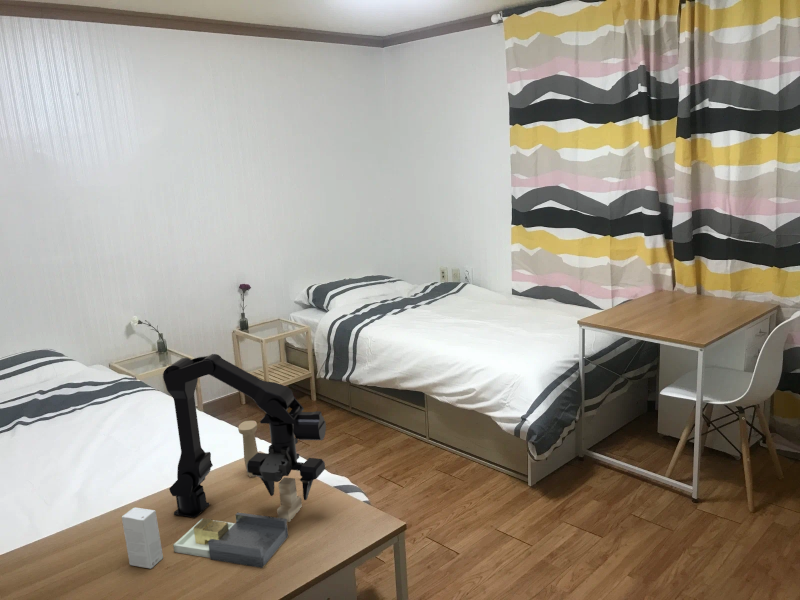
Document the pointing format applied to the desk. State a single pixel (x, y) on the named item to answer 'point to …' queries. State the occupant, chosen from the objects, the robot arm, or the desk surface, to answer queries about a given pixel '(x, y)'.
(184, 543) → the tray
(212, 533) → the chip
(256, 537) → the slot rail
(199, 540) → the wooden block
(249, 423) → the handle
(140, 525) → the skincare box
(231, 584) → the desk surface
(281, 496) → the pale step bench
